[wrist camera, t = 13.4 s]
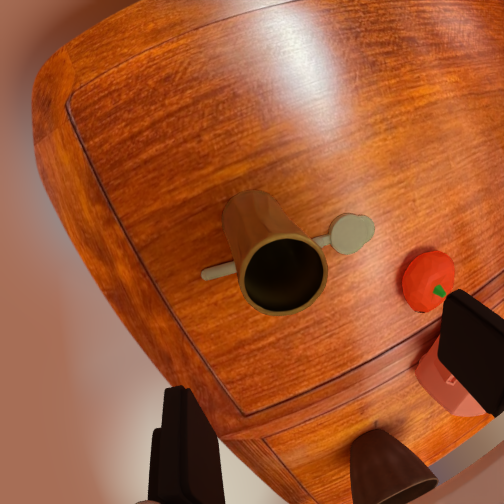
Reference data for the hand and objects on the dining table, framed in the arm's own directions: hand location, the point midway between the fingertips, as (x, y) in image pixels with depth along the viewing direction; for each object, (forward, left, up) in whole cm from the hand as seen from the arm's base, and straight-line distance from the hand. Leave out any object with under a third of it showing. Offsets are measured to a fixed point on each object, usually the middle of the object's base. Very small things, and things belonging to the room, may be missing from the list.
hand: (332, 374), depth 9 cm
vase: (0, 0, -23) cm, 23 cm away
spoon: (+3, -4, -23) cm, 23 cm away
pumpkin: (+19, -12, -23) cm, 32 cm away
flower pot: (+11, -46, -23) cm, 53 cm away
